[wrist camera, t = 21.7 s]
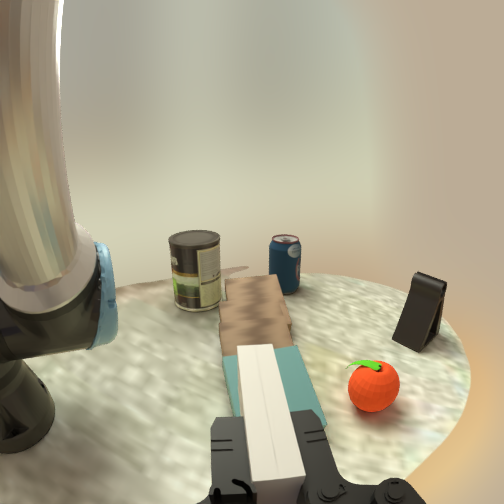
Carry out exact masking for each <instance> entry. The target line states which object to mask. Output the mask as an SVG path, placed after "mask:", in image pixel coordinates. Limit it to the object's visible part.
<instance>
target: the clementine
mask: <svg viewBox="0 0 504 504" xmlns="http://www.w3.org/2000/svg"><path fill="white" fill-rule="evenodd" d="M353 364H359V365H361V366H359V367H358V368H357V369H356V370H355V371H354V372H353V374H352V376H351V378H350V380H349V385H348V393H349V396H350V399H351V401H352V402H353V404H354V405H356V406H357V407H358V408H359V409H361V410H363V411H367V412H376V411H380V410H383V409H385V408H386V407H388V406H389V405H390V404H392V402H393V401H394V400H395V398H396V397H397V395H398V392H399V387H400V382H399V376H398V374H397V372H396V371H395V369H394V368H393V367H392V366H391V365H389V364H387V363H385V362H382V361H370V360H361V361H356V362H354V363H352V364H350V365H353ZM350 365H349V366H350ZM347 368H348V367H347ZM347 368H346V369H347Z"/></svg>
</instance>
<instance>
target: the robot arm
mask: <svg viewBox="0 0 504 504" xmlns="http://www.w3.org/2000/svg"><path fill="white" fill-rule="evenodd" d="M62 7H63V0H0V453H15V452H19V451H22V450H25V449H27V448H29V447H31V446H33V445H34V444H36V443H37V442H38V441H39V440H40V439H41V438H42V437H43V436H44V435H45V434H46V433H47V431H48V430H49V428H50V426H51V424H52V422H53V419H54V414H55V406H54V402H53V399H52V397H51V395H50V393H49V391H48V389H47V387H46V386H45V384H44V383H43V382H42V381H41V380H40V379H39V378H38V377H37V375H36V374H35V373H34V372H33V371H32V370H31V369H30V368H29V366H28V365H27V364H26V363H25V362H24V361H23V359H26V358H32V357H39V356H45V355H52V354H58V353H64V352H70V351H76V350H81V349H86V350H91V349H93V348H94V347H96V346H100V345H104V344H108V343H110V342H112V341H113V340H114V339H115V337H116V335H117V332H118V312H117V304H116V301H115V299H116V296H115V282H114V275H113V268H112V262H111V257H110V253H109V249H108V247H107V246H106V245H105V244H103V243H97V242H93V240H92V238H91V235H90V234H89V233H88V231H87V230H86V229H85V228H84V227H83V226H81V225H80V224H78V223H76V222H75V220H74V215H73V210H72V204H71V198H70V192H69V185H68V180H67V172H66V164H65V155H64V146H63V137H62V123H61V107H60V77H59V76H60V72H59V71H60V66H59V65H60V64H59V63H60V35H61V19H62ZM237 365H238V394H239V404H240V414H241V416H239V417H216V419H215V421H214V423H213V424H212V426H211V472H212V486H211V487H210V491H209V495H208V496H207V497H206V498H205V499H204V500H203V501H201V502H199V503H197V504H426V503H425V501H424V500H423V499H422V498H421V497H420V496H419V494H418V493H417V492H416V491H415V490H414V488H413V487H412V486H411V485H410V484H409V483H408V482H406V481H405V480H403V479H400V478H389V479H387V480H384V481H383V482H381V483H380V484H379V485H359V484H353V483H350V482H348V481H347V480H345V479H344V478H343V477H342V476H341V475H340V474H339V472H338V470H337V467H336V464H335V461H334V458H333V455H332V452H331V449H330V446H329V443H328V440H327V437H326V434H325V431H324V428H323V425H322V423H321V420H320V418H319V417H318V416H317V415H316V414H315V412H314V411H313V410H312V409H309V410H301V411H292V412H289V408H288V404H287V400H286V396H285V392H284V388H283V384H282V380H281V377H280V373H279V369H278V365H277V361H276V357H275V353H274V349H273V345H272V344H262V345H243V346H237Z"/></svg>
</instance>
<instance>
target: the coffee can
mask: <svg viewBox="0 0 504 504" xmlns="http://www.w3.org/2000/svg"><path fill="white" fill-rule="evenodd" d="M169 244H170V255H171V265H172V275H173V286H174V295H175V304H176V305H177V306H178V307H179V308H180V309H183V310H186V311H191V312H201V311H207V310H210V309H213V308H215V307H217V306H218V305H219V302H221V301H222V294H221V271H220V235H219V234H218V233H216V232H212V231H207V230H191V231H184V232H179V233H176V234H174V235H172V236H171V237H169Z"/></svg>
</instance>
